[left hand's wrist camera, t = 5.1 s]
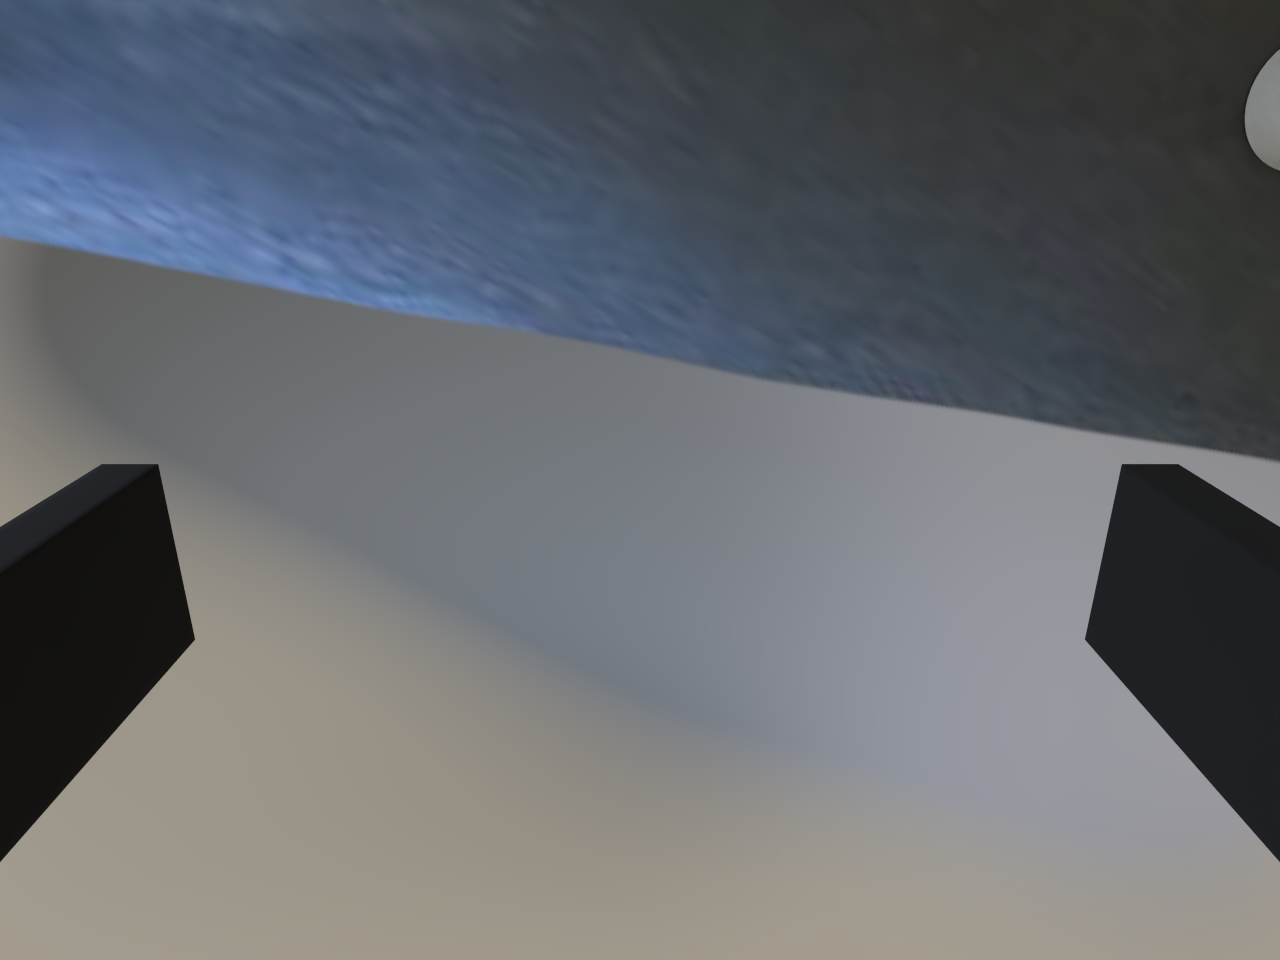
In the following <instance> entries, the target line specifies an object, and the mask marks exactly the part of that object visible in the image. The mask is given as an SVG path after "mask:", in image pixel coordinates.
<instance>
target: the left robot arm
mask: <svg viewBox="0 0 1280 960" xmlns="http://www.w3.org/2000/svg"><path fill="white" fill-rule="evenodd" d="M194 640H195V637H194V633H193V628H192V623H191V618H190V614H189V609H188V604H187V599H186V595H185V590H184V585H183V580H182V576H181V571H180V566H179V561H178V557H177V552H176V547H175V542H174V538H173V533H172V528H171V523H170V519H169V514H168V509H167V504H166V500H165V495H164V490H163V485H162V481H161V476H160V471H159V466H158V464H102V465H100V466H98V467H97V468H95V469H93V470H92V471H90V472H89V473H87V474H85V475H84V476H82V477H80V478H79V479H77V480H76V481H74V482H72V483H71V484H69V485H68V486H66V487H64V488H63V489H61V490H59V491H58V492H56V493H55V494H53V495H51V496H50V497H48V498H46V499H45V500H43V501H42V502H40V503H38V504H37V505H35V506H34V507H32V508H30V509H29V510H27V511H25V512H24V513H22V514H21V515H19V516H17V517H16V518H14V519H12V520H11V521H9V522H8V523H6V524H4V525H3V526H1V527H0V862H1V860H2V859H3V858H4V857H5V856H6V855H7V854H8V852H9V851H10V850H11V849H12V848H13V847H14V846H15V844H16V843H17V842H18V841H19V840H20V839H21V838H22V836H23V835H24V834H25V833H26V832H27V831H28V830H29V828H30V827H31V826H32V825H33V824H34V823H35V822H36V820H37V819H38V818H39V817H40V816H41V815H42V814H43V812H44V811H45V810H46V809H47V808H48V807H49V806H50V804H51V803H52V802H53V801H54V800H55V799H56V798H57V796H58V795H59V794H60V793H61V792H62V791H63V790H64V788H65V787H66V786H67V785H68V784H69V783H70V782H71V780H72V779H73V778H74V777H75V776H76V775H77V774H78V772H79V771H80V770H81V769H82V768H83V767H84V766H85V764H86V763H87V762H88V761H89V760H90V759H91V758H92V756H93V755H94V754H95V753H96V752H97V751H98V750H99V749H100V747H101V746H102V745H103V744H104V743H105V742H106V741H107V739H108V738H109V737H110V736H111V735H112V734H113V733H114V731H115V730H116V729H117V728H118V727H119V726H120V725H121V723H122V722H123V721H124V720H125V719H126V718H127V717H128V715H129V714H130V713H131V712H132V711H133V710H134V709H135V707H136V706H137V705H138V704H139V703H140V702H141V701H142V699H143V698H144V697H145V696H146V695H147V694H148V693H149V691H150V690H151V689H152V688H153V687H154V686H155V685H156V683H157V682H158V681H159V680H160V679H161V678H162V677H163V675H164V674H165V673H166V672H167V671H168V670H169V669H170V667H171V666H172V665H173V664H174V663H175V662H176V661H177V659H178V658H179V657H180V656H181V655H182V654H183V653H184V652H185V650H186V649H187V648H188V647H189V646H190V645H191V644H192V642H193V641H194ZM1085 640H1086V641H1087V642H1088V644H1089V645H1090V646H1091V647H1092V648H1093V649H1094V650H1095V652H1096V653H1097V654H1098V655H1099V656H1100V657H1101V658H1102V660H1103V661H1104V662H1105V663H1106V664H1107V665H1108V666H1109V667H1110V669H1111V670H1112V671H1113V672H1114V673H1115V674H1116V675H1117V677H1118V678H1119V679H1120V680H1121V681H1122V682H1123V683H1124V685H1125V686H1126V687H1127V688H1128V689H1129V690H1130V691H1131V693H1132V694H1133V695H1134V696H1135V697H1136V698H1137V699H1138V701H1139V702H1140V703H1141V704H1142V705H1143V706H1144V707H1145V709H1146V710H1147V711H1148V712H1149V713H1150V714H1151V715H1152V717H1153V718H1154V719H1155V720H1156V721H1157V722H1158V723H1159V725H1160V726H1161V727H1162V728H1163V729H1164V730H1165V731H1166V733H1167V734H1168V735H1169V736H1170V737H1171V738H1172V739H1173V741H1174V742H1175V743H1176V744H1177V745H1178V746H1179V747H1180V749H1181V750H1182V751H1183V752H1184V753H1185V754H1186V755H1187V757H1188V758H1189V759H1190V760H1191V761H1192V762H1193V763H1194V764H1195V766H1196V767H1197V768H1198V769H1199V770H1200V771H1201V773H1202V774H1203V775H1204V776H1205V777H1206V778H1207V779H1208V781H1209V782H1210V783H1211V784H1212V785H1213V786H1214V787H1215V788H1216V790H1217V791H1218V792H1219V793H1220V794H1221V795H1222V796H1223V798H1224V799H1225V800H1226V801H1227V802H1228V803H1229V804H1230V806H1231V807H1232V808H1233V809H1234V810H1235V811H1236V812H1237V814H1238V815H1239V816H1240V817H1241V818H1242V819H1243V820H1244V822H1245V823H1246V824H1247V825H1248V826H1249V827H1250V828H1251V830H1252V831H1253V832H1254V833H1255V834H1256V835H1257V836H1258V838H1259V839H1260V840H1261V841H1262V842H1263V843H1264V844H1265V846H1266V847H1267V848H1268V849H1269V850H1270V851H1271V852H1272V853H1273V855H1274V856H1275V857H1276V858H1277V859H1278V860H1279V862H1280V527H1279V526H1277V525H1276V524H1274V523H1272V522H1271V521H1269V520H1268V519H1266V518H1264V517H1263V516H1261V515H1259V514H1258V513H1256V512H1255V511H1253V510H1251V509H1250V508H1248V507H1246V506H1245V505H1243V504H1242V503H1240V502H1238V501H1237V500H1235V499H1234V498H1232V497H1230V496H1229V495H1227V494H1225V493H1224V492H1222V491H1221V490H1219V489H1217V488H1216V487H1214V486H1213V485H1211V484H1209V483H1208V482H1206V481H1204V480H1203V479H1201V478H1200V477H1198V476H1196V475H1195V474H1193V473H1191V472H1190V471H1188V470H1187V469H1185V468H1183V467H1182V466H1180V465H1179V464H1122V466H1121V471H1120V476H1119V481H1118V485H1117V490H1116V495H1115V500H1114V504H1113V509H1112V514H1111V519H1110V523H1109V528H1108V533H1107V538H1106V542H1105V547H1104V552H1103V557H1102V561H1101V566H1100V571H1099V576H1098V580H1097V585H1096V590H1095V595H1094V599H1093V604H1092V609H1091V614H1090V618H1089V623H1088V628H1087V633H1086V637H1085Z"/></svg>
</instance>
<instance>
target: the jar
mask: <svg viewBox="0 0 1280 960" xmlns="http://www.w3.org/2000/svg"><path fill="white" fill-rule="evenodd" d="M1245 129H1246V135H1247V138H1248V141H1249V143H1250V146H1251V148H1252V149H1253V151H1254V152H1255V154H1256V155H1257V156H1258V157H1259V158H1260V159H1261V160H1262V161H1263V162H1264V163H1265V164H1267V165H1268V166H1270V167H1272V168H1274V169H1276V170H1280V49H1279V50H1278V51H1277V52H1276V53H1275V54H1274V55H1273V56H1272V57H1271V58H1270V59H1269V60H1268V61H1267V63H1266V64H1265V65H1264V67H1263V68H1262V69H1261V71H1260V72H1259V74H1258V76H1257V77H1256V79H1255V81H1254V83H1253V85H1252V87H1251V90H1250V93H1249V96H1248V99H1247V104H1246V109H1245Z"/></svg>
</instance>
